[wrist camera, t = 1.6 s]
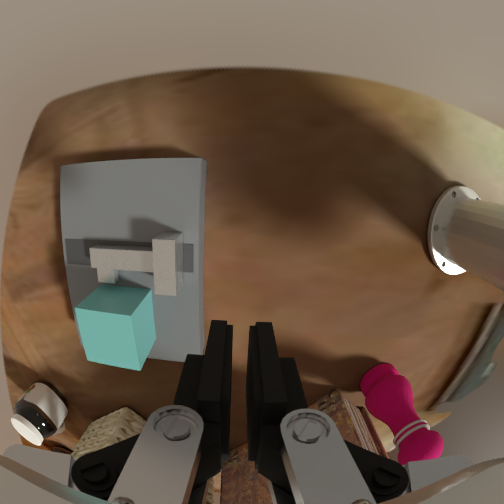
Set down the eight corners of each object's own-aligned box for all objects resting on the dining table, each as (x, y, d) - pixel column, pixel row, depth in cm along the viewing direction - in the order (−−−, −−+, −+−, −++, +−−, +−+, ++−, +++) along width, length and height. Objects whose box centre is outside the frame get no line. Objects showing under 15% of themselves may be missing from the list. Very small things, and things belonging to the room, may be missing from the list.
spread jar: (54, 377, 35) (24, 418, 24) (88, 421, 38) (67, 463, 27) (23, 380, 36) (-4, 413, 24) (54, 420, 38) (34, 454, 27)
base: (207, 160, 28) (201, 157, 24) (204, 344, 33) (200, 364, 29) (79, 165, 27) (60, 165, 23) (93, 330, 32) (81, 346, 28)
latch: (182, 232, 25) (174, 240, 22) (183, 284, 27) (176, 297, 23) (95, 230, 25) (80, 236, 22) (99, 277, 26) (85, 288, 23)
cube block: (151, 289, 27) (131, 315, 21) (156, 338, 28) (140, 370, 22) (101, 284, 26) (74, 307, 21) (109, 331, 28) (87, 360, 22)
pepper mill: (348, 384, 36) (396, 490, 17) (384, 352, 35) (452, 450, 16) (371, 400, 38) (417, 491, 18) (404, 371, 36) (464, 457, 17)
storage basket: (222, 464, 41) (220, 525, 27) (168, 478, 43) (159, 528, 29) (126, 397, 36) (97, 466, 22) (82, 419, 38) (55, 471, 24)
